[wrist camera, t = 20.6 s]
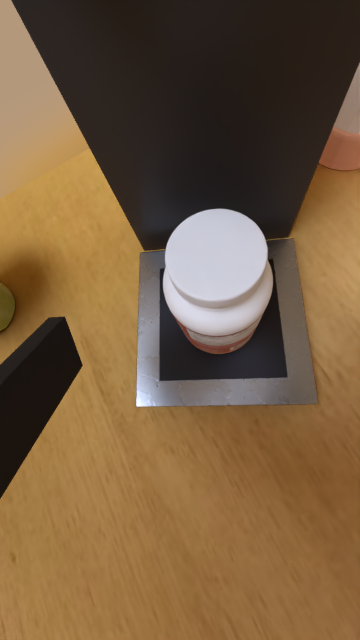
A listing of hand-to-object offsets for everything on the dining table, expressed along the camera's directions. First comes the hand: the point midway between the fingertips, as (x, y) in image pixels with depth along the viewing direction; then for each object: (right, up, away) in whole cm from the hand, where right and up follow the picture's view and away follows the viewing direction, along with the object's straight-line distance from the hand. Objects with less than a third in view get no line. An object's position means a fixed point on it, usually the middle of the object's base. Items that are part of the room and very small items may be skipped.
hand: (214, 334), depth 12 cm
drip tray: (+2, 0, +13) cm, 13 cm away
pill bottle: (+2, +1, +11) cm, 11 cm away
